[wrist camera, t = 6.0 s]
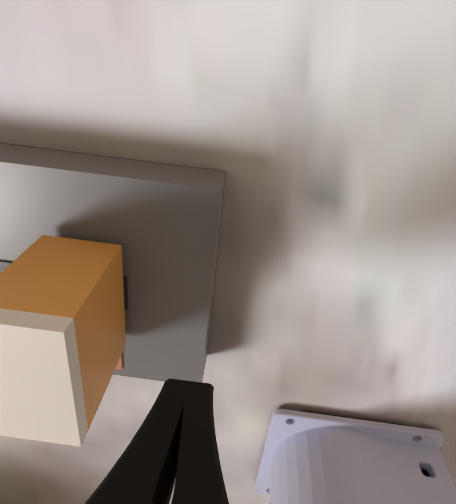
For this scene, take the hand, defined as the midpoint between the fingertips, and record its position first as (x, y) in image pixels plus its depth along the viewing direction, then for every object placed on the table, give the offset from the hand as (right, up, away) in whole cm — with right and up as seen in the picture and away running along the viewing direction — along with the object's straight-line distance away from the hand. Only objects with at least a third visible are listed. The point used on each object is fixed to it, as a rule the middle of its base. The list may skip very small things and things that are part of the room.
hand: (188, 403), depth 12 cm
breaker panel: (-7, +4, +6) cm, 11 cm away
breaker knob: (-5, +3, +4) cm, 7 cm away
